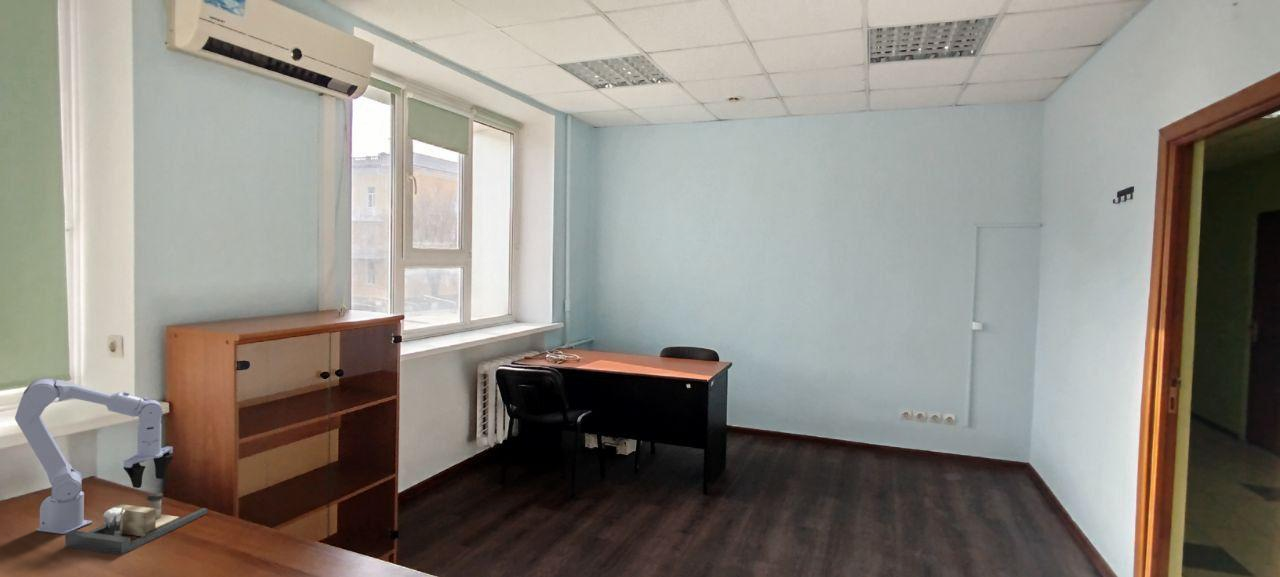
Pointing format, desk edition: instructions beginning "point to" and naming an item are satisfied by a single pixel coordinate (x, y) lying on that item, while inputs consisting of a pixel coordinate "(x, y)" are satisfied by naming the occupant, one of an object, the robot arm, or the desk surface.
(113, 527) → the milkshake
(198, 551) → the desk surface
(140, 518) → the clamp jaw
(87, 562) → the desk surface
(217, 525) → the desk surface
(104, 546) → the grey tray
